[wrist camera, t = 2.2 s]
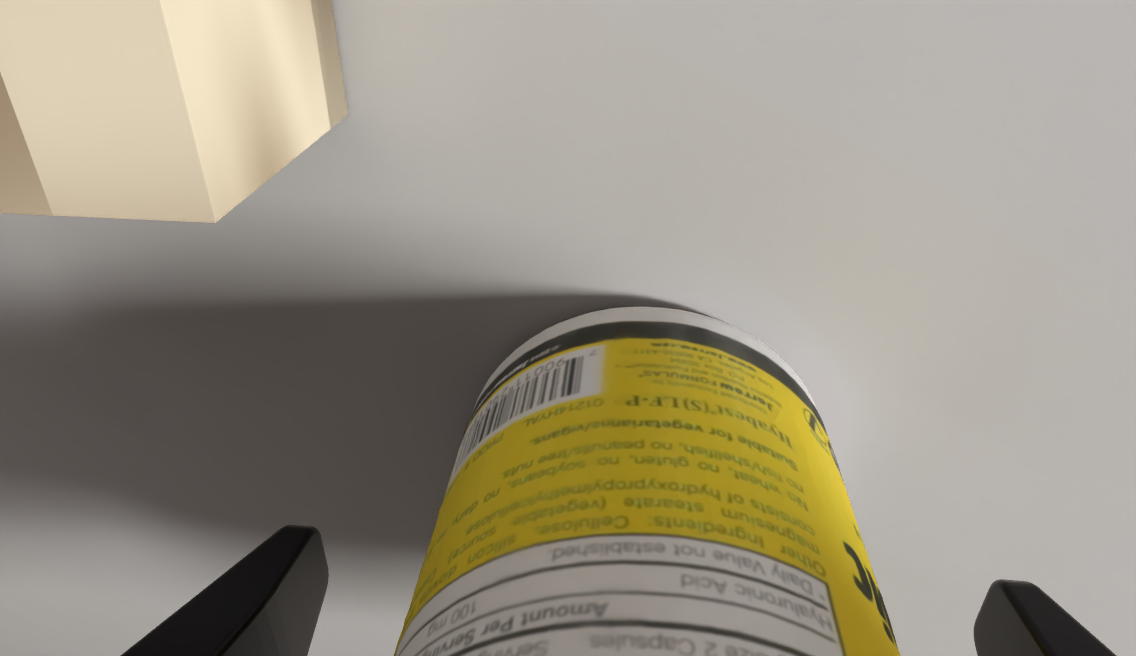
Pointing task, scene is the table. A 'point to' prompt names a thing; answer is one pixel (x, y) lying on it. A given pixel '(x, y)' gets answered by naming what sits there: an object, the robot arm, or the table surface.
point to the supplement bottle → (646, 506)
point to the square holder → (159, 102)
